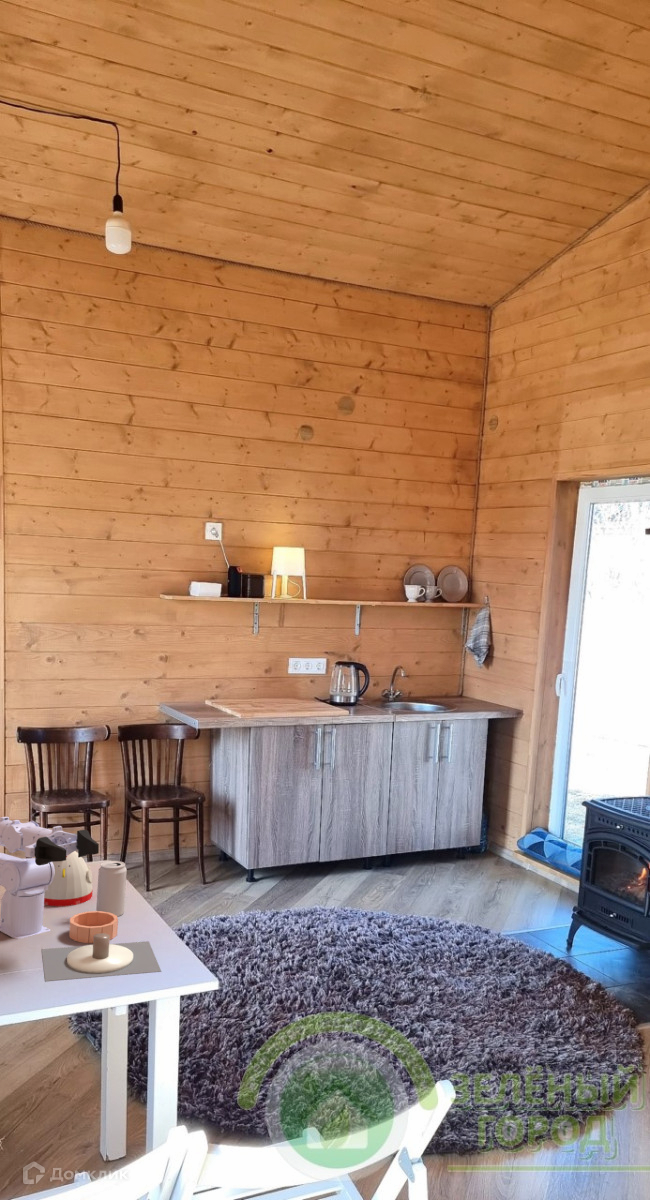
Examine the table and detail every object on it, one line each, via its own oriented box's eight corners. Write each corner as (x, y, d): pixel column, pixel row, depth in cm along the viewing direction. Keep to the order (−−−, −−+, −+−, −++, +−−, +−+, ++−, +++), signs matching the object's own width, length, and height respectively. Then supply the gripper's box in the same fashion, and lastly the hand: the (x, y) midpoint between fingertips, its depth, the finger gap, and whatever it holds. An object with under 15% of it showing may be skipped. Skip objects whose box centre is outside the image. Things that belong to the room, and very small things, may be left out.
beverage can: (128, 917, 206) (131, 865, 206) (102, 922, 202) (105, 869, 202) (117, 909, 211) (120, 858, 211) (91, 913, 207) (94, 862, 207)
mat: (41, 951, 183) (41, 949, 183) (148, 944, 191) (148, 941, 191) (44, 984, 168) (45, 981, 168) (161, 974, 176) (161, 971, 176)
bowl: (59, 936, 193) (61, 918, 193) (98, 925, 200) (100, 908, 200) (86, 950, 186) (87, 931, 186) (125, 938, 194) (126, 920, 194)
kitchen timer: (30, 907, 210) (34, 843, 210) (35, 888, 223) (39, 828, 223) (91, 905, 213) (95, 843, 213) (92, 887, 226) (96, 828, 226)
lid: (54, 958, 179) (55, 934, 179) (108, 942, 189) (109, 920, 189) (91, 979, 170) (93, 954, 170) (146, 961, 180) (147, 937, 180)
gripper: (13, 828, 185) (50, 837, 176) (74, 818, 196) (111, 826, 187) (13, 863, 185) (49, 874, 176) (73, 851, 196) (110, 860, 187)
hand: (81, 852), depth 181 cm, fingers open, 7 cm apart
